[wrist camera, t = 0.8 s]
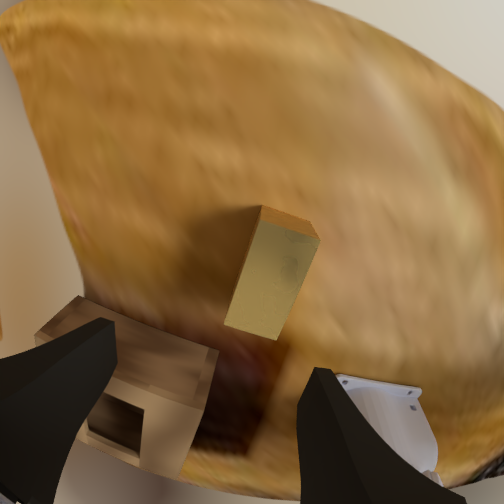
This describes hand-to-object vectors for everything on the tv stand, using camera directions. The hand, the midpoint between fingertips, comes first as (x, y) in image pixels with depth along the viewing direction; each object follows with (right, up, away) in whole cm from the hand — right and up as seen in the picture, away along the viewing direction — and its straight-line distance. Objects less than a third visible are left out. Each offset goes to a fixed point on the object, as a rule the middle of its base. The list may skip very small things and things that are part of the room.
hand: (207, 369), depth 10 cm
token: (+3, +4, +9) cm, 10 cm away
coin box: (-8, -7, +13) cm, 17 cm away
